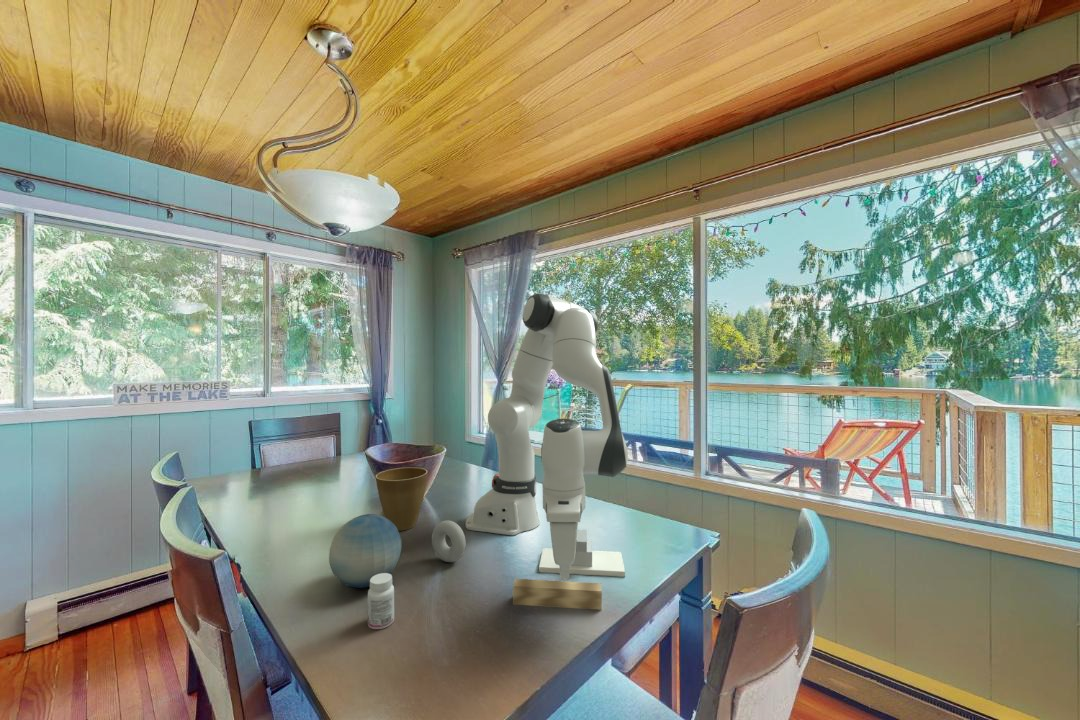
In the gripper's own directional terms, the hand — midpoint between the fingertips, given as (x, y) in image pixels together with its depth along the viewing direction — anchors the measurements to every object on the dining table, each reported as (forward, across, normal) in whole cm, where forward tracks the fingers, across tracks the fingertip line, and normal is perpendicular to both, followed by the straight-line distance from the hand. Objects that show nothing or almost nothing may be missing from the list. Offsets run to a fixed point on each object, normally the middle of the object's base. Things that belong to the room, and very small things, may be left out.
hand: (565, 566), depth 86 cm
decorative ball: (+7, -4, -45) cm, 45 cm away
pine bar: (+8, 0, -2) cm, 8 cm away
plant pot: (+6, -36, -50) cm, 62 cm away
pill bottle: (+7, +9, -35) cm, 37 cm away
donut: (+7, -16, -29) cm, 34 cm away
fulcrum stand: (+7, -17, +4) cm, 19 cm away
